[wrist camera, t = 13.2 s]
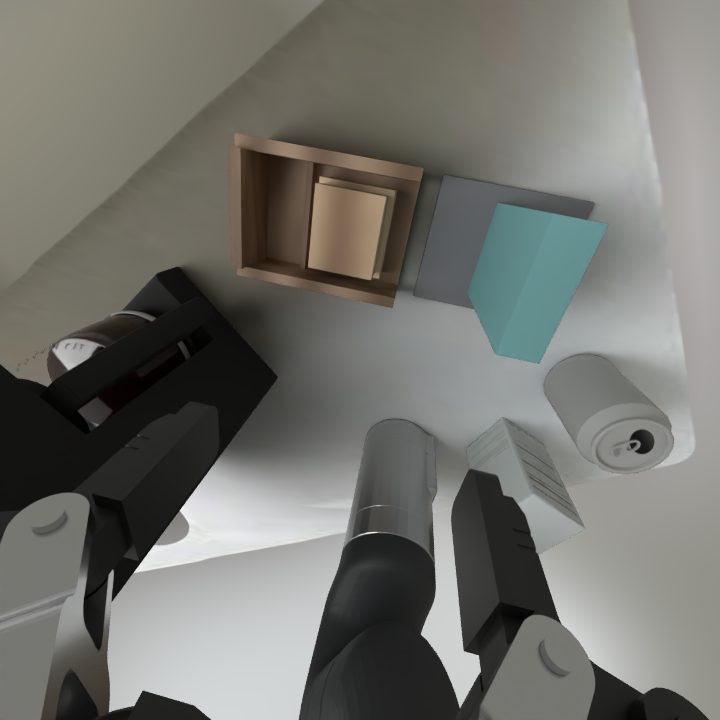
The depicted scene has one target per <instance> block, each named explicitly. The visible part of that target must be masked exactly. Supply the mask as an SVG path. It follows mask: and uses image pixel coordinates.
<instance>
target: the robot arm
mask: <svg viewBox="0 0 720 720" xmlns="http://www.w3.org/2000/svg"><path fill="white" fill-rule="evenodd" d="M218 449H219V425H218V411H217V408H216V407H214V406H210V405H205V404H201V403H197V402H189V403H187V404H186V405H185V406H184V407H183V408H182V409H181V410H180V411H179V412H178V413H176V414H175V415H174V414H170V413H169V414H167V415H165V416H163V417H161V418H159V419H157V420H155V421H153V422H151V423H150V424H149V425H148V426H146V427H145V428H144V429H143V430H142V431H141V432H140V433H139V434H137V437H134V438H133V439H132V440H131V441H129V442H128V443H127V444H126V446H125V448H122V449H120V450H119V451H118V452H117V453H116V454H115V455H114V456H113V457H111V458H110V459H109V460H108V461H107V462H106V463H105V464H103V465H102V466H101V467H100V468H99V469H98V470H97V471H96V472H94V473H93V474H92V475H91V476H90V477H89V478H88V479H86V480H85V481H84V482H83V483H82V484H81V485H80V486H79V487H77V488H76V489H75V490H74V491H72V492H71V493H60V494H55V495H51V496H48V497H45V498H43V499H40V500H38V501H36V502H34V503H33V504H31V505H29V506H27V507H26V508H25V509H23V510H21V511H3V512H0V720H211V719H210V718H208V717H207V716H206V715H205V714H204V713H202V712H201V711H200V710H199V709H197V708H196V707H195V706H194V705H190V704H187V703H183V702H180V701H177V700H173V699H170V698H167V697H163V696H160V695H156V694H153V693H149V692H146V691H142V693H141V695H140V697H139V699H138V700H137V702H136V704H135V706H132V707H127V708H123V709H119V710H115V711H112V712H109V701H110V681H109V672H108V663H107V650H108V637H109V625H110V613H111V601H112V589H113V577H114V571H113V569H114V568H115V566H116V565H117V564H118V563H119V561H120V560H121V559H122V558H123V557H126V558H130V559H133V560H137V561H139V560H140V559H141V558H142V556H143V555H144V554H145V552H146V551H147V550H148V548H149V547H150V546H151V544H152V543H153V542H154V540H155V539H156V537H157V536H158V535H159V533H160V532H161V531H162V529H163V528H164V527H165V525H166V524H167V523H168V521H169V520H170V519H171V517H172V516H173V515H174V513H175V512H176V511H177V509H178V508H179V507H180V505H181V504H182V503H183V501H184V500H185V499H186V497H187V496H188V495H189V493H190V492H191V491H192V489H193V488H194V487H195V485H196V484H197V483H198V481H199V480H200V479H201V477H202V476H203V475H204V473H205V472H206V470H207V469H208V468H209V466H210V465H211V464H212V462H213V461H214V459H215V457H216V455H217V452H218ZM436 493H437V479H436V463H435V446H434V436H431V435H428V434H426V433H425V432H424V431H423V430H422V429H421V428H420V427H418V426H417V425H415V424H413V423H411V422H408V421H404V420H397V419H392V420H386V421H382V422H380V423H378V424H376V425H375V426H374V427H372V428H371V429H370V431H369V432H368V434H367V437H366V441H365V444H364V449H363V455H362V460H361V465H360V469H359V474H358V479H357V484H356V489H355V494H354V498H353V503H352V508H351V513H350V518H349V523H348V527H347V532H346V537H345V542H344V546H343V551H342V555H341V560H340V564H339V568H338V571H337V573H336V576H335V578H334V581H333V584H332V586H331V588H330V591H329V594H328V597H327V600H326V604H325V608H324V612H323V616H322V620H321V624H320V628H319V632H318V636H317V640H316V644H315V648H314V652H313V656H312V660H311V664H310V668H309V673H308V677H307V681H306V685H305V690H304V694H303V699H302V704H301V710H300V716H299V720H709V719H708V718H707V717H706V716H705V715H704V714H703V713H702V712H701V711H700V710H699V709H698V708H697V707H695V706H694V705H693V704H692V703H690V702H689V701H688V700H687V699H685V698H684V697H682V696H681V695H679V694H677V693H676V692H673V691H671V690H669V689H665V688H654V689H651V690H650V691H648V692H646V693H645V694H642V693H640V692H639V691H637V690H636V689H634V688H632V687H631V686H629V685H628V684H626V683H624V682H623V681H621V680H619V679H618V678H616V677H615V676H613V675H611V674H610V673H608V672H606V671H605V670H603V669H602V668H600V667H599V666H597V665H596V664H594V663H593V662H592V661H591V660H590V659H589V658H588V656H587V654H586V652H585V650H584V649H583V647H582V646H581V644H580V643H579V641H578V640H577V639H576V638H575V637H574V636H573V634H572V633H571V632H570V631H569V630H568V629H567V628H565V627H564V626H563V625H562V624H561V622H560V620H559V617H558V615H557V612H556V609H555V606H554V603H553V600H552V596H551V593H550V590H549V587H548V584H547V581H546V578H545V574H544V571H543V568H542V565H541V562H540V559H539V556H538V553H536V547H535V544H534V540H533V537H531V531H530V528H529V525H528V522H527V519H526V516H525V514H524V512H523V511H522V510H521V508H520V507H519V505H518V504H517V502H516V501H515V500H514V498H513V497H509V496H505V495H503V491H502V488H501V484H500V480H499V478H498V476H497V475H496V474H491V473H487V472H483V471H479V470H475V469H470V470H469V471H468V472H467V474H466V477H465V479H464V481H463V483H462V485H461V487H460V490H459V492H458V494H457V496H456V498H455V501H454V503H453V508H452V515H451V522H452V534H453V544H454V555H455V565H456V575H457V586H458V596H459V607H460V617H461V627H462V638H463V648H464V651H466V652H469V653H473V654H476V655H479V659H480V667H481V673H480V674H479V675H478V677H477V679H476V681H475V682H474V684H473V686H472V688H471V690H470V691H469V693H468V695H467V697H466V699H465V701H464V702H463V704H462V706H461V708H459V704H458V701H457V698H456V694H455V692H454V689H453V686H452V683H451V681H450V679H449V676H448V674H447V672H446V670H445V668H444V666H443V664H442V662H441V660H440V658H439V657H438V655H437V653H436V652H435V651H434V649H433V648H432V647H431V645H430V644H429V643H428V641H427V640H426V639H425V638H424V637H423V636H422V635H421V632H422V628H423V626H424V623H425V620H426V618H427V616H428V614H429V611H430V609H431V607H432V604H433V602H434V598H435V590H436V584H435V583H436V582H435V561H434V560H435V558H434V536H433V512H432V503H433V500H434V498H435V496H436Z"/></svg>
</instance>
